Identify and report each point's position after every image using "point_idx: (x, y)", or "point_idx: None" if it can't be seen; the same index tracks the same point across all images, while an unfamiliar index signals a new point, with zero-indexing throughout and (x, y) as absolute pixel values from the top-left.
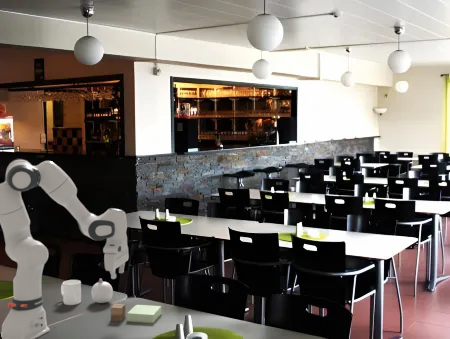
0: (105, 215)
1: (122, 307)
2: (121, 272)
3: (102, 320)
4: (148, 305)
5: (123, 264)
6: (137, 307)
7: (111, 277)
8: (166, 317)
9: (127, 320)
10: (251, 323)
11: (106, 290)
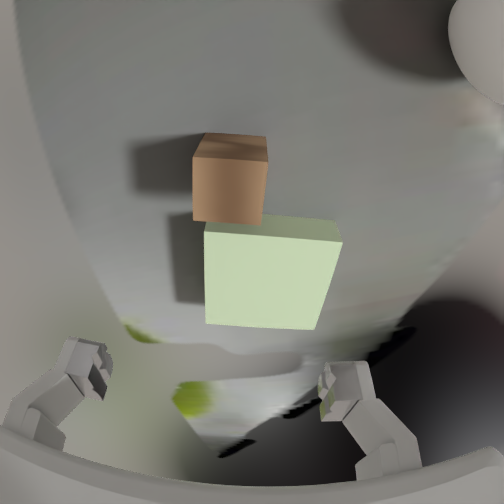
0: None
1: (211, 220)
2: (320, 381)
3: (197, 91)
4: (326, 290)
5: (357, 466)
6: (297, 255)
7: (65, 346)
8: None
9: None
10: (247, 429)
11: (490, 76)
